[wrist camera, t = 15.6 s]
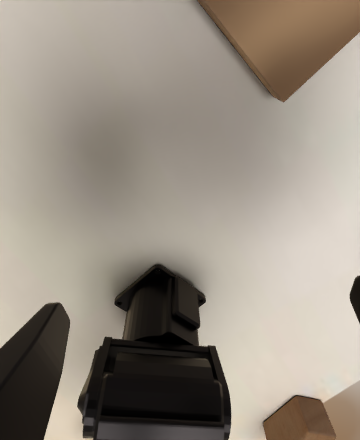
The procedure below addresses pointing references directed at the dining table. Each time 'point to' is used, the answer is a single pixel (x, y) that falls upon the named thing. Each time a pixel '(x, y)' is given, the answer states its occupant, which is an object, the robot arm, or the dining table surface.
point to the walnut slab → (286, 36)
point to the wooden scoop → (300, 421)
